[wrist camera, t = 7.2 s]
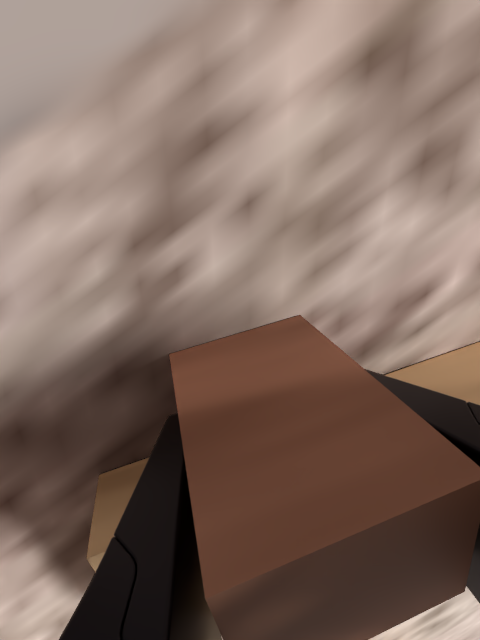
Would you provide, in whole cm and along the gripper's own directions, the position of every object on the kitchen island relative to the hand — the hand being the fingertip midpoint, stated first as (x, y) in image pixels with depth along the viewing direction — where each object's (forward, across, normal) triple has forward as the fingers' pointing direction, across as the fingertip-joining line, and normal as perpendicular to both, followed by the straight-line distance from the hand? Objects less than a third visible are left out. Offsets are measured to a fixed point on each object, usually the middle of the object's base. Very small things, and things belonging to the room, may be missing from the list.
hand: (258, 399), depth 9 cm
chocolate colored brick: (+1, 0, +3) cm, 3 cm away
